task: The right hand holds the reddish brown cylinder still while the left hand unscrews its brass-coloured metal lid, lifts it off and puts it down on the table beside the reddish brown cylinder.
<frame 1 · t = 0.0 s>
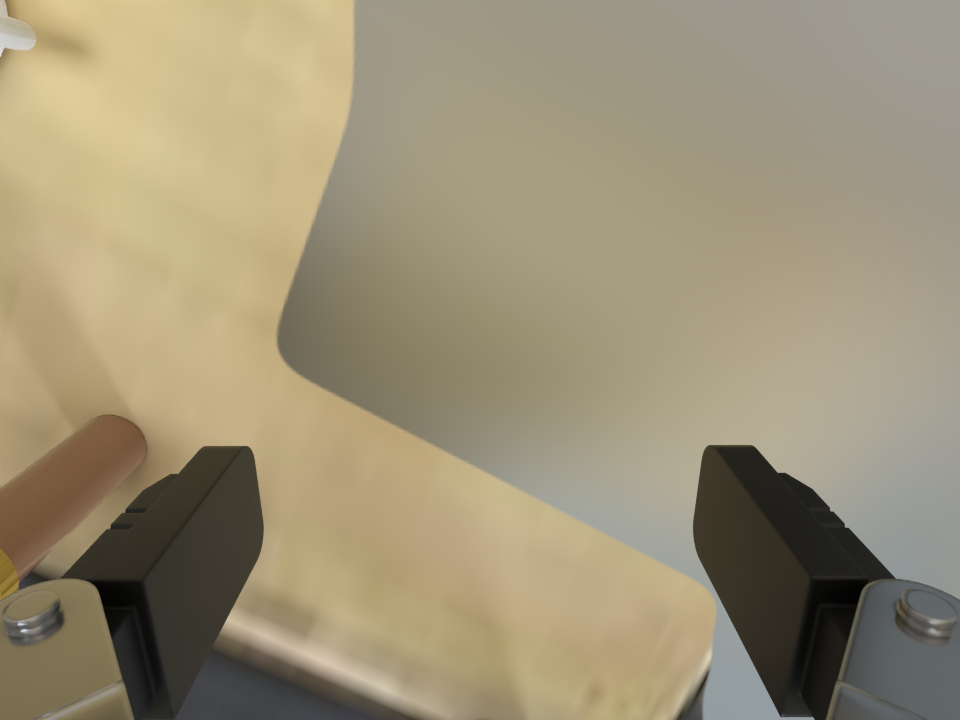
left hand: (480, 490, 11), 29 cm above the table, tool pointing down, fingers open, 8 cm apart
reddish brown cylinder: (114, 443, 44), on the table
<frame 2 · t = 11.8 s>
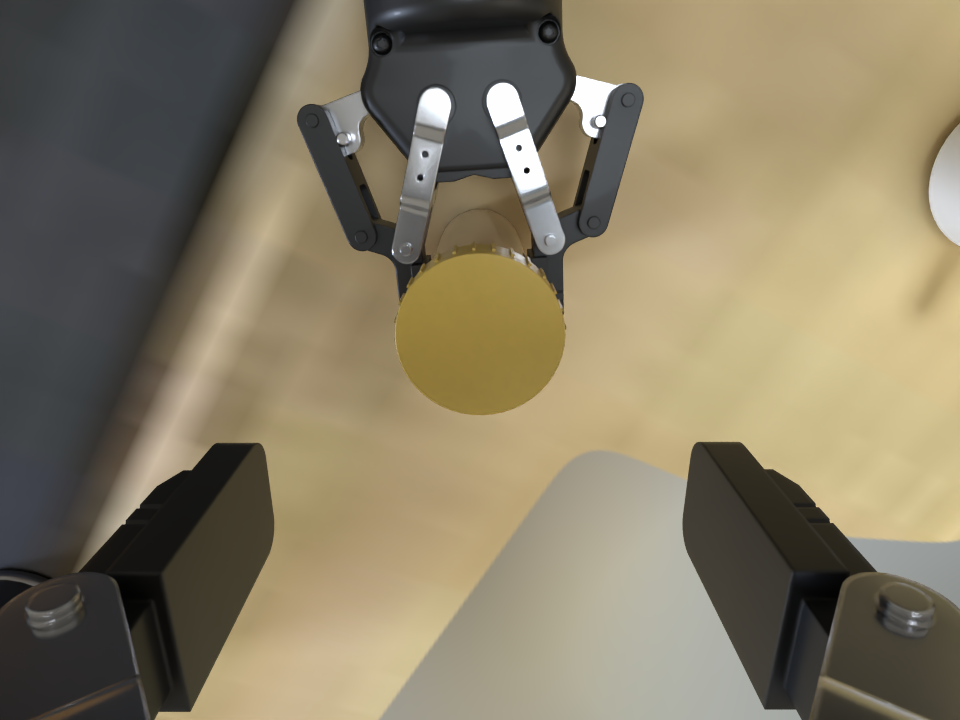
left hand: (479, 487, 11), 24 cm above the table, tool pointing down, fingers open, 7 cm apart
right hand: (484, 335, 29), fingers closed on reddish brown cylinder, 4 cm apart
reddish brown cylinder: (480, 250, 34), on the table, touching right hand
lid: (480, 334, 20), point 15 cm above the table, screwed on, not yet turned
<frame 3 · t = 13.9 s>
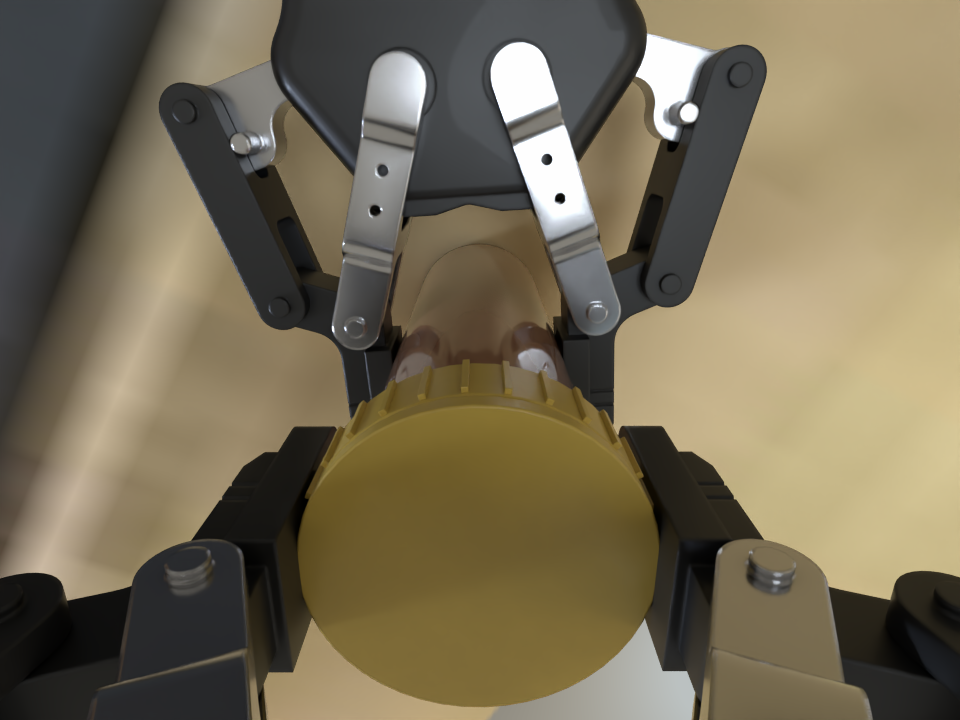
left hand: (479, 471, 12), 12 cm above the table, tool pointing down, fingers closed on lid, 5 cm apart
right hand: (485, 451, 18), fingers closed on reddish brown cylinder, 4 cm apart
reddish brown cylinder: (479, 303, 23), on the table, touching right hand
lid: (478, 556, 9), point 15 cm above the table, screwed on, not yet turned, touching left hand
when the left hand's fingers open (13 cm above the table, at t = 15.1 s): lid stays where it is, point 15 cm above the table.
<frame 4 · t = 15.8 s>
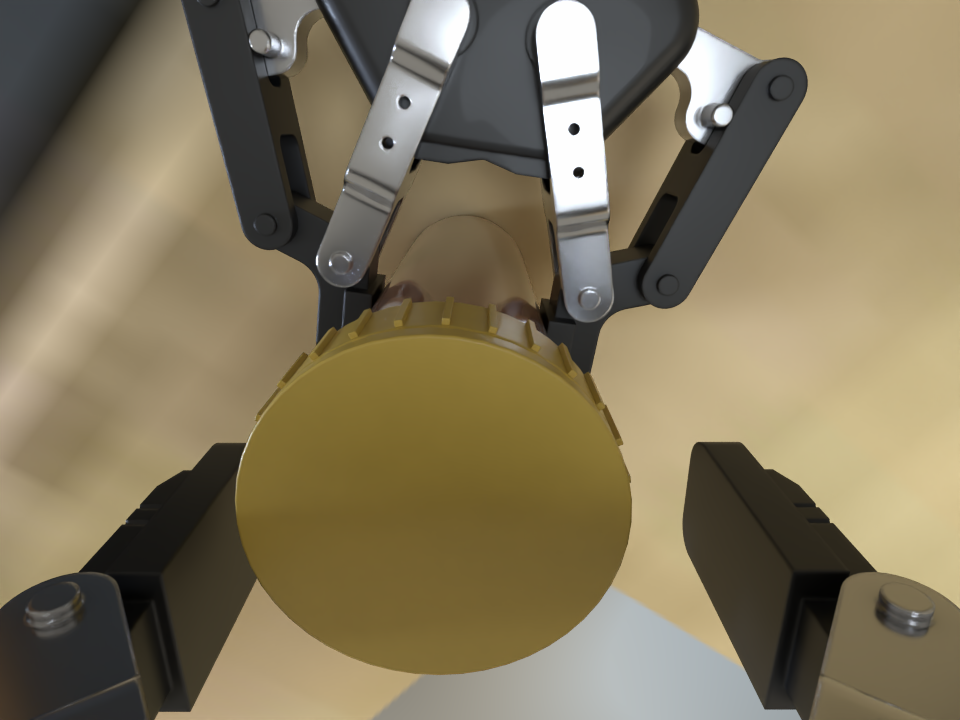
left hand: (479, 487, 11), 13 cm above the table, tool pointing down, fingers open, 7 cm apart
right hand: (446, 420, 18), fingers closed on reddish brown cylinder, 4 cm apart
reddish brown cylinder: (464, 276, 23), on the table, touching right hand
lid: (435, 509, 9), point 15 cm above the table, turned 55° so far, risen 0.2 cm, still on its thread
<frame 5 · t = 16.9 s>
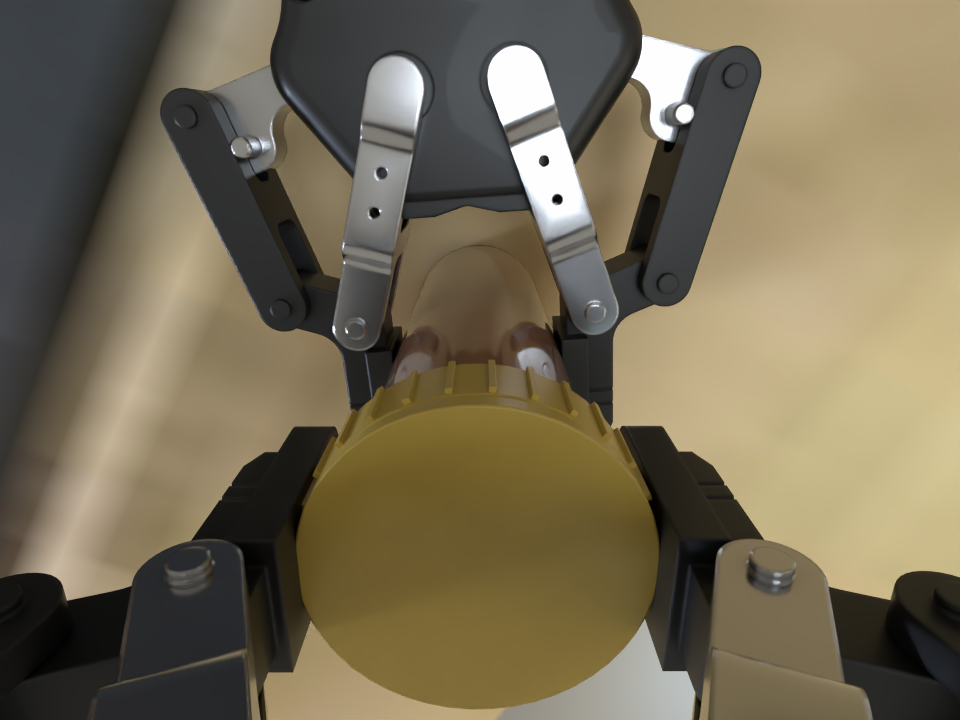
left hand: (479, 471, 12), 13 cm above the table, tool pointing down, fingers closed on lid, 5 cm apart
right hand: (486, 450, 18), fingers closed on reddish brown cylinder, 4 cm apart
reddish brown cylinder: (479, 304, 24), on the table, touching right hand
lid: (477, 557, 9), point 15 cm above the table, turned 55° so far, risen 0.2 cm, still on its thread, touching left hand
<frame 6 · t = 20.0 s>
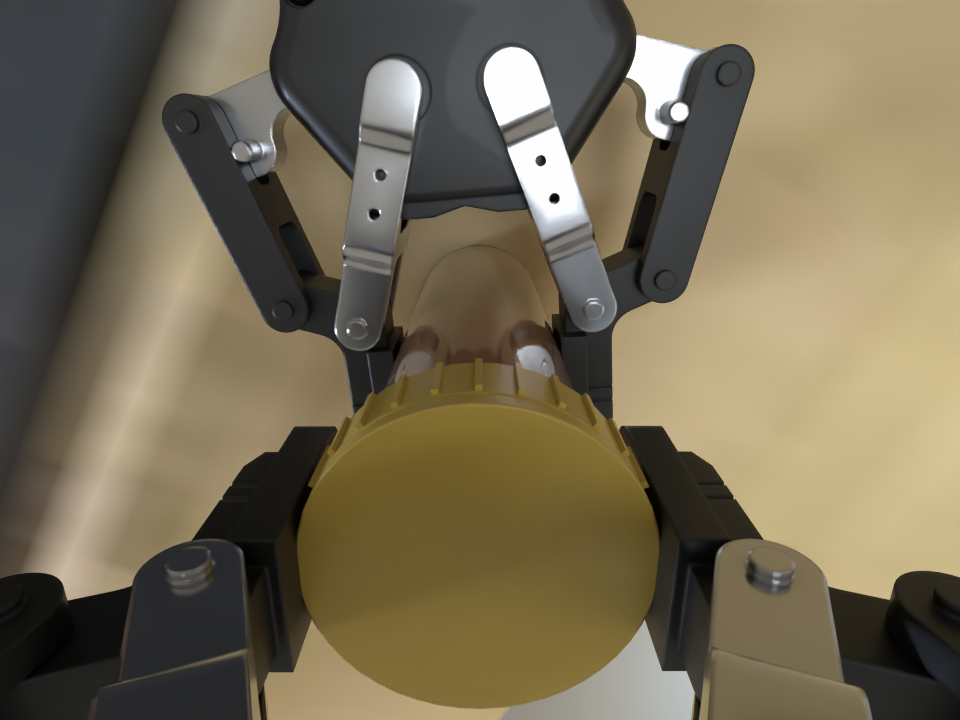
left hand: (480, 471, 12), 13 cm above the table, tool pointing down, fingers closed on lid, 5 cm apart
right hand: (488, 447, 18), fingers closed on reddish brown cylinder, 4 cm apart
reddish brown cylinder: (479, 303, 24), on the table, touching right hand
lid: (478, 556, 9), point 15 cm above the table, turned 110° so far, risen 0.3 cm, still on its thread, touching left hand
when the left hand's fingers open (0 cm above the table, at t = 26.7 s): lid drops 2 cm, point 1 cm above the table.
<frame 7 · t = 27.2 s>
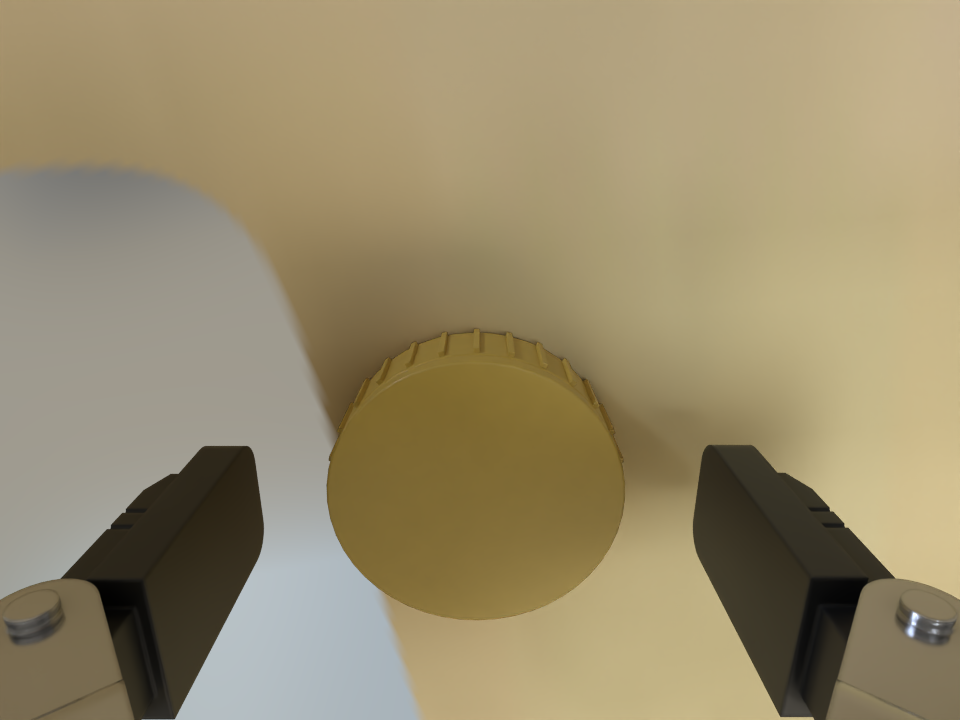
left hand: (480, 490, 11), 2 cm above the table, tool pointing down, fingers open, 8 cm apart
lid: (475, 491, 11), point 1 cm above the table, off its thread
when the right hand's fingers open (7 cm above the table, at t = 27.7 s): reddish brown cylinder stays where it is, on the table.
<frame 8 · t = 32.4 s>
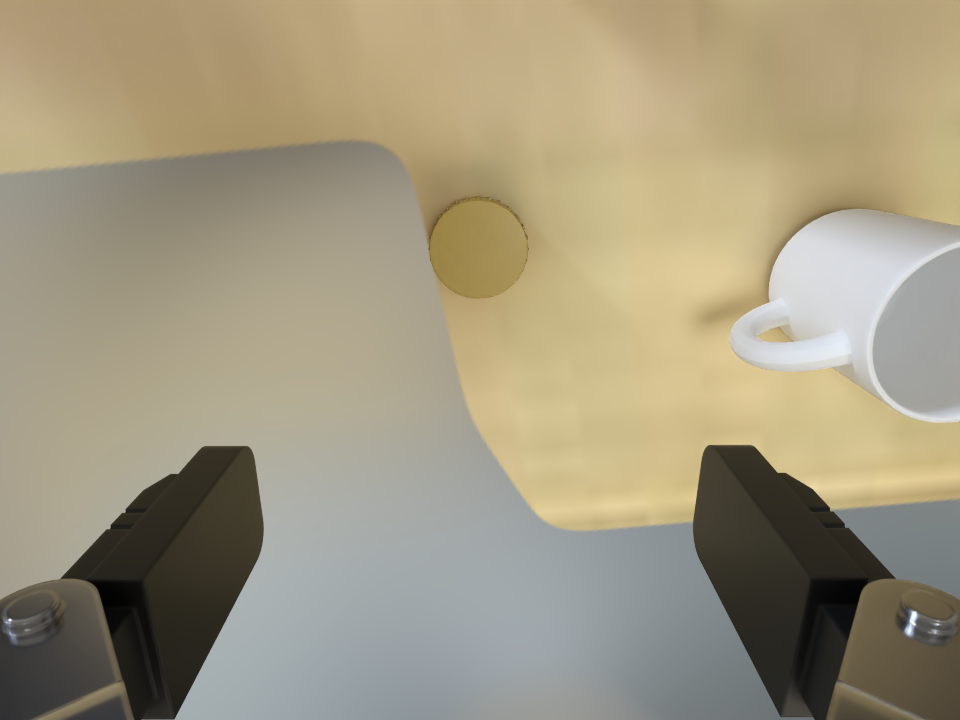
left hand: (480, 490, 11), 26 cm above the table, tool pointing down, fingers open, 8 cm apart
lid: (478, 249, 34), point 1 cm above the table, off its thread
mug: (801, 288, 36), on the table
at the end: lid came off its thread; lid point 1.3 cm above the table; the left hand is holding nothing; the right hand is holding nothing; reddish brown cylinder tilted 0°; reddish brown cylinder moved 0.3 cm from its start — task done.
